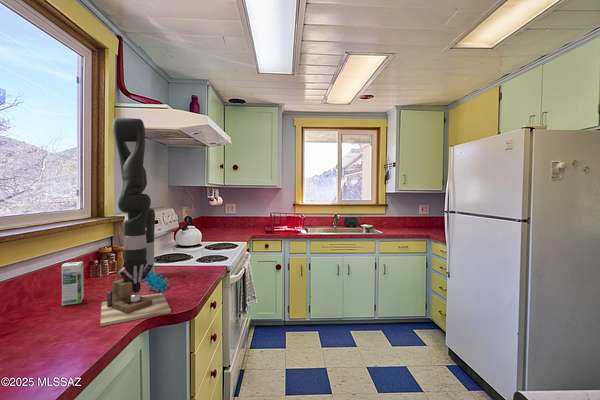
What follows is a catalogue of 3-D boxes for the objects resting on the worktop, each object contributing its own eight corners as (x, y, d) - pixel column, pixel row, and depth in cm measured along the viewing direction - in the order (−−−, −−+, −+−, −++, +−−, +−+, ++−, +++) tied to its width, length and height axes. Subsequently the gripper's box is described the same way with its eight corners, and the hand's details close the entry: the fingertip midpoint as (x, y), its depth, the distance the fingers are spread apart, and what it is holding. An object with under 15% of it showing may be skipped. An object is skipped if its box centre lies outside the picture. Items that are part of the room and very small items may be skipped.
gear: (154, 292, 117) (142, 272, 120) (144, 301, 118) (133, 281, 121) (174, 287, 127) (163, 269, 131) (165, 296, 128) (154, 278, 132)
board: (101, 305, 108) (101, 302, 108) (162, 295, 119) (162, 292, 118) (100, 326, 91) (100, 323, 91) (170, 312, 102) (170, 309, 102)
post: (130, 305, 105) (130, 294, 105) (139, 303, 107) (139, 292, 107) (130, 308, 103) (130, 296, 102) (140, 306, 104) (140, 295, 104)
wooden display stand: (152, 305, 106) (152, 284, 106) (126, 313, 98) (126, 291, 98) (129, 297, 113) (129, 277, 113) (104, 304, 105) (103, 283, 105)
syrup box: (61, 306, 106) (61, 265, 106) (65, 300, 112) (64, 262, 111) (80, 303, 109) (80, 264, 109) (83, 298, 114) (83, 260, 114)
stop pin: (106, 305, 104) (106, 291, 104) (112, 305, 105) (112, 291, 105) (106, 307, 103) (106, 293, 103) (112, 306, 104) (112, 292, 104)
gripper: (146, 242, 119) (146, 285, 120) (111, 248, 108) (112, 295, 109) (157, 245, 116) (158, 289, 116) (123, 251, 104) (123, 299, 105)
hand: (135, 292), depth 113 cm, fingers closed
